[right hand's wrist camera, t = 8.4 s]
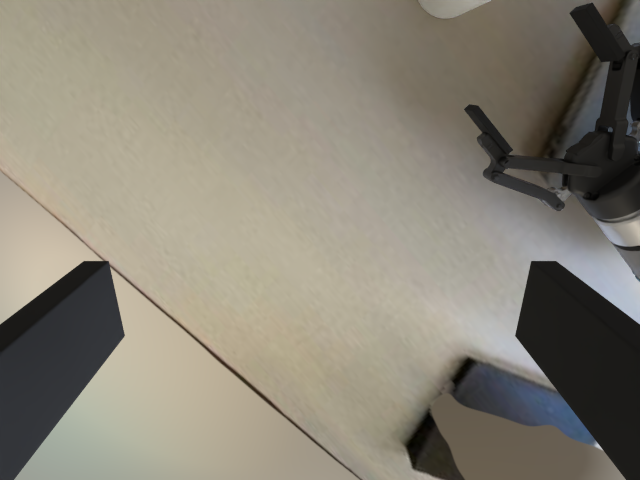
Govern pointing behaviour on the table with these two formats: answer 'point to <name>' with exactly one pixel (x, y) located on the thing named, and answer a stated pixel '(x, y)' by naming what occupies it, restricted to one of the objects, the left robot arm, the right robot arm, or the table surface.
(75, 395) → the right robot arm
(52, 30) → the table surface
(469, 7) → the bottle
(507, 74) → the table surface
